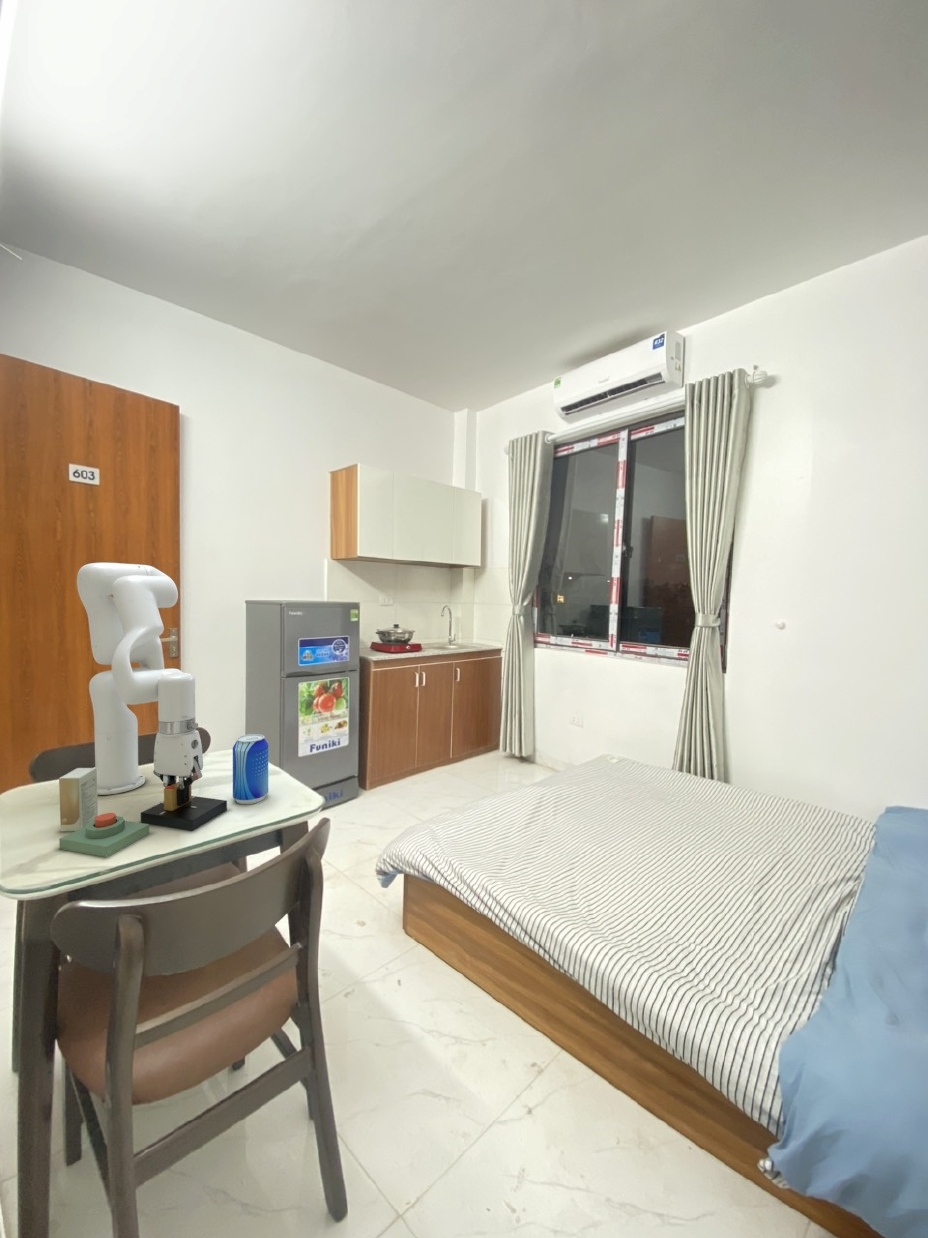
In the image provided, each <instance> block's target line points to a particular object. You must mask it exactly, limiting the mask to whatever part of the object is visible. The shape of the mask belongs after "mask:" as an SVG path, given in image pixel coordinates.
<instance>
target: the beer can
mask: <svg viewBox="0 0 928 1238" xmlns="http://www.w3.org/2000/svg"><path fill="white" fill-rule="evenodd" d="M268 793H269V743H268V741H267V740H266V738H265V735H264V734H260V733H247V734H243V735H240V736H238V737H236V741H235V743H234V744H233V747H232V798H233V799H234V800H235V802H236V803H237V804H240V805H252V804H256V803H259V802H262V801H263V800H265V798H266V796H267V795H268Z"/></svg>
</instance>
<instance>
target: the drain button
mask: <svg viewBox="0 0 928 1238" xmlns="http://www.w3.org/2000/svg"><path fill="white" fill-rule="evenodd" d="M116 816H117V815H116V813H115V812H106V813H102V814H100V815H99V814H98V816H97V817H96V818H95V827H96V828H102V827H107V826H111V825H113V824H115V823H116Z"/></svg>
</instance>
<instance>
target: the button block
mask: <svg viewBox="0 0 928 1238" xmlns="http://www.w3.org/2000/svg"><path fill="white" fill-rule="evenodd" d="M148 835H150V824H144V823H141V822H138V821H137V822H136V821H131V820H126V819H125V818H124V817H123V816H121V815H120V816H119V815H116V823H115V824H113V825H111V826H107V827H102V828H96V827H95V820H94V821H92V822H90V823H89V824H88V825H87V826H85V827H83V828H81V829H79V830H77V831H72V832H70V833H68V834H66V835H64V836H62V837H60V838H59V839H58V842H59V850H64V851H70V852H74V853H81V854H87V855H92V856H97V857H103V858H108V857H110V856H112V855H113V854H115V853H117V852H119V851H121V850H123V849H125V848H126V847H128V846H130V845H132V844H134V843H136V842H137V841H139V840H141V839H143V838H145V837H146V836H148Z"/></svg>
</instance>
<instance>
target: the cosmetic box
mask: <svg viewBox="0 0 928 1238" xmlns="http://www.w3.org/2000/svg"><path fill="white" fill-rule="evenodd" d="M58 786H59V787H58V791H59V813H60V814H59V817H60V818H59V819H60V821H59V822H60V832H75V831H77V830H79V829H81V828H83V827H85V826H87V825H88V824H89V823H90V822H92V821H94V820H95V818H96V817H97V816H99V805H98V804H99V803H98V802H99V801H98V798H99V797H98V795H97V768H94V767H76V768H75V769H73V770H70V771H69V772H67V773H66V774H64V775H62V776H60V777H59V778H58Z"/></svg>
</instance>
